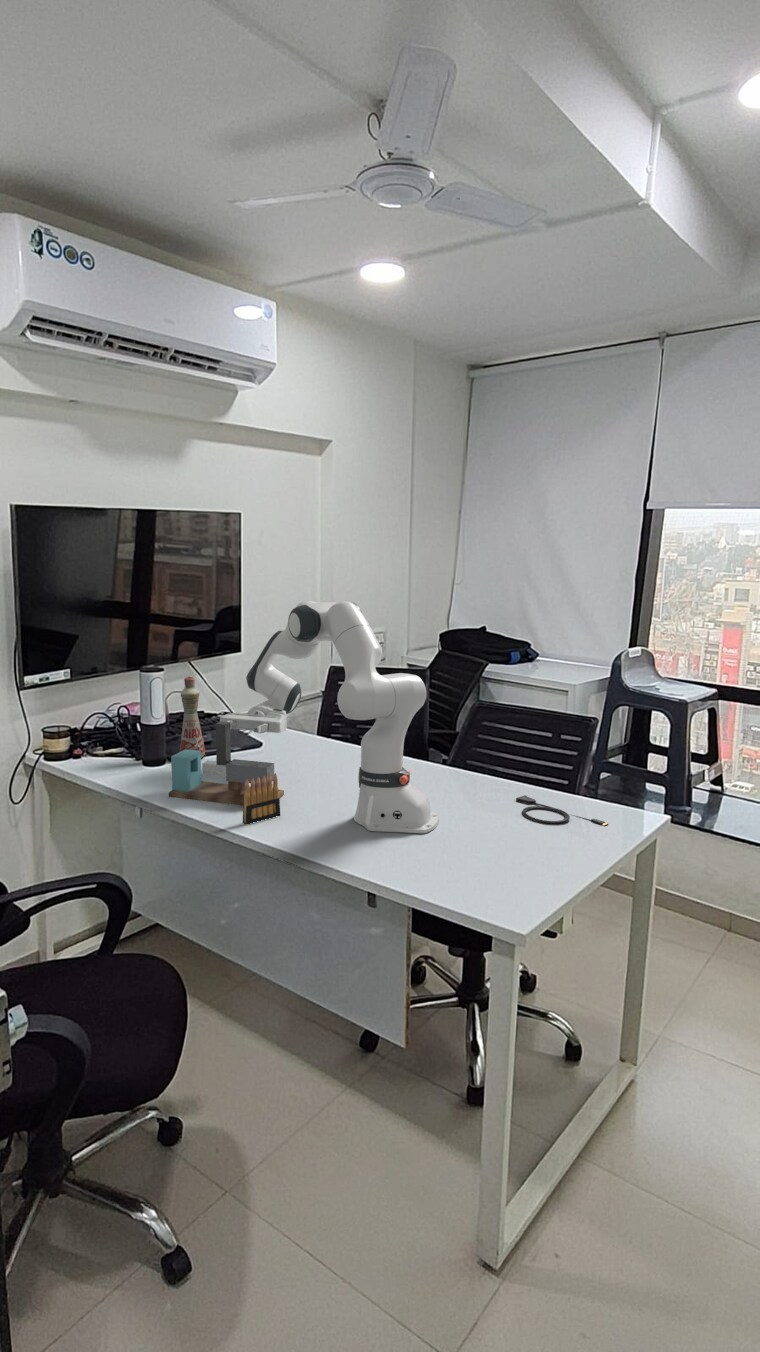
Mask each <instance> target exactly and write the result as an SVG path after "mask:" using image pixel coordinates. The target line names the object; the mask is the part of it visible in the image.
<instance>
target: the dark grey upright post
mask: <svg viewBox="0 0 760 1352" xmlns="http://www.w3.org/2000/svg"><path fill="white" fill-rule="evenodd" d="M231 748H232V747H231V730H230V722H220V721H219V722H217V723H215V750H216V751H215V756H216V757H215V758H216V760H209V759H208V760H206V761H204V762H201V775H207V776H208V775H209V776H216V777H225V778H226V764H227V763H228V762H230V761H232V757H231V755H232V754H231V752H232V751H231V750H232V749H231Z"/></svg>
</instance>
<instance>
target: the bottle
mask: <svg viewBox="0 0 760 1352" xmlns="http://www.w3.org/2000/svg"><path fill="white" fill-rule="evenodd" d="M183 680H184V688H183V689H182V690H181V691H180V698H181V702H182V707H183V720H182V726H181V727H182V729H181V730H182V731H181V738H180V746H179V752H181V751H183V750H185V749H186V750H196V751H201V757H203V756H204V755H205V752H206V748H205V744H204V738H203V734H202V730H201V723H200V720H199V715H198V706H199V699H200V698H199V697H200V691H199V689H197V687H195V686H196V678H195V677H193V676H191V675H189V676H186V677H184V679H183ZM205 756H206V755H205Z"/></svg>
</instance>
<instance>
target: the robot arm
mask: <svg viewBox="0 0 760 1352" xmlns="http://www.w3.org/2000/svg"><path fill="white" fill-rule="evenodd" d="M287 621H288V622H287V624H286V627H285V629H284V630H277V631H276V632H275V633H274V634H273V635H272V636H271V637H270V638H269V640H268V641H267V642H266V644H265V646H264V647H263V649H262V651H261V652H260V654H259V656H258V657H257V659H256V661H255V662H254V664H253V665H252V666H251V668H249V670H248V672H247V674H246V684H247V686H248V688H249V689H250V690H252V691H254V692H256V693H258V694H259V695H261V696H263V697H264V698H265V699H267V700H265V701H263V702H262V703H259V704H256V705H254V706H252V707H251V708H249V710H248V711H247V712H246V713H242V712H230V713H226V714H224V715H220V717H219V722H230V731H231V730H238V731H239V730H240V731H252V732H254V733H256V734H264V733H272V734H273V733H274V734H280V733H283V732H285V731H287V723H288V722H287V721H288V720H287V719H288V717H289V715H290V714H291V713H292V712H293V711H294V710H296V707H297V706H298V704H299V702H300V700H301V698H302V688H301V685H300V683H298V681H296V680H295V679H293V678H291V677H290V676H289V675H286V674H285V673H284V672H282V671H280V670H279V669H278V668H275V666H274V665H273V664H272V663H273V661H274V659H275V657H276V656H277V655H279V656H284V657H288V658H290V659H296V660H300V659H302V660H303V659H307V658H308V657H311V656H312V655H314V653H315V652H316V650H317V649H318V647H319V645H320V642H331V641H332V643H333V645H334V647H335V650H336V652H337V653H338V656H339V659H340V660H341V663H342V666H343V669H344V672H345V673H344V674H345V675H344V676H345V678H344V682H343V683H342V684H341V686H340V688H339V690H338V692H337V699H336V701H337V706H338V709H339V710H340V712H341V714H342V715H343V716H344V717H345V718H347V719H348V720H356V721H368V720H375V722H374V724H373V725H372V726H371V728H370V729H369V730H368V731H367V732H366V733H365V734H364V735H363V736H362V739H361V742H360V766H359V768H358V787H359V793H358V801H357V806H356V810H355V813H354V817H353V818H354V821H355V822H356V823H357V824H359V825H361V826H363V827H364V828H365V829H366V831H367V830H368V831H369V832H386V833H387V832H389V833H405V834H407V833H408V834H409V833H410V834H427V833H430V832H431V831H433V830H434V829H435V828H436V827H437V826H438V825H439V820H440V819H439V815H438V814H437V813H436V812H434V811H431V804H430V801H429V797H428V796H427V794H425V793H424V792H422V791H421V790H420V789H418V788H417V787H416V786H415V785H413V783H411V782H410V781H411V779H410V777H411V776H410V775H411V769H409V770H407V769H405V768H404V767H403V761H404V760H403V757H404V745H405V744H404V743H405V738H406V735H407V732H408V728H409V727H410V724H411V722H412V719H414V716H415V715H416V713H417V712H418V711H419V710H420V709H421V708H423V706H424V704H425V702H426V700H427V688H426V684H425V682H424V681H423V680H422V679H421V677H420V676H418V675H416V674H411V673H403V672H399V673H390V674H382V675H381V674H380V673H379V672H378V671H377V668H376V667H377V666H378V665H379V664H380V662H381V661H382V658H383V648H382V646H381V644H380V642H379V640H378V638H377V637H376V634H375V632H374V631H373V629H372V627H371V626H370V623H369V622H368V620H367V618H366V617H365V616H364V614H363V612H362V610H361V608H360V607H359V605H358V604H357V603H355V602H353V601H347V600H344V601H343V600H341V601H328V602H327V601H326V602H325V601H323V602H321V601H320V602H316V601H314V600H302V601H300V602H299V603H298V604H297V605H296V607H294V608H293V609H292V610H291V611H290V613H289V615H288V620H287Z"/></svg>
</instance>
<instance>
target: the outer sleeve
mask: <svg viewBox="0 0 760 1352" xmlns="http://www.w3.org/2000/svg"><path fill="white" fill-rule="evenodd" d="M269 774H270V775H271V778H272V782H273V778H274V774H275V762H267V761H256V760H248V759H236V758H235V759H234V758H233V759H231V761H230V762H228V763H227V764H226V777H225V779H226V782H228V781H233V782H242V783H245V782H246V780H248V782H249V784H251V780H252V778H253V779H254V782H255V784H256V782H257V778H258V777H259V778H260V782H261V785H262V779H263V776H265V778H266V785H268V776H269Z"/></svg>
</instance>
